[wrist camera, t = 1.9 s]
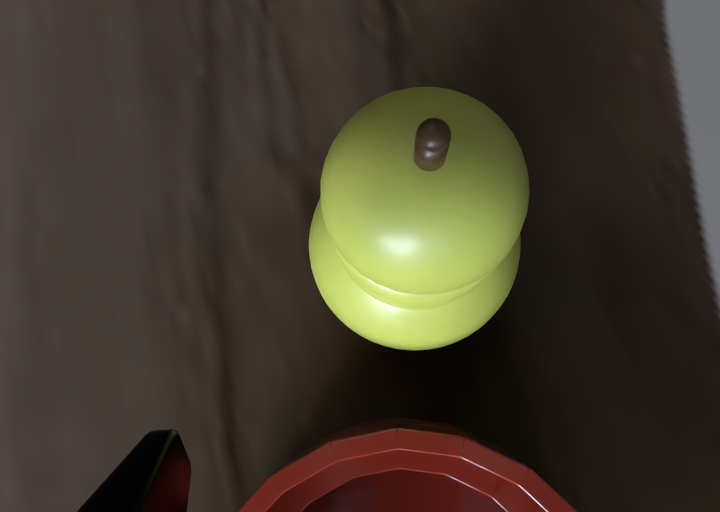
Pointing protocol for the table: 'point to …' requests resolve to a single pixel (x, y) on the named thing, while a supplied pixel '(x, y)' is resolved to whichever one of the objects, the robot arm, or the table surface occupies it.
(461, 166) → the pear
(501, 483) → the bowl
